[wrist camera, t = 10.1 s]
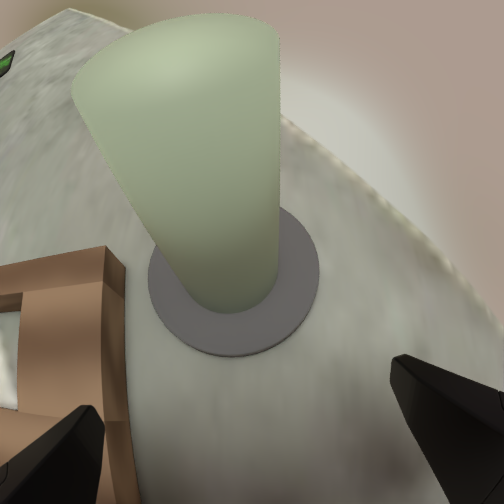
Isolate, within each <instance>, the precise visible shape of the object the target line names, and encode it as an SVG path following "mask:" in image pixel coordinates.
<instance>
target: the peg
mask: <svg viewBox="0 0 504 504" xmlns="http://www.w3.org/2000/svg"><path fill="white" fill-rule="evenodd" d="M71 96H72V98H73V101H74V103H75V105H76V107H77V108H78V110H79V112H80V114H81V116H82V118H83V120H84V122H85V124H86V126H87V128H88V130H89V131H90V133H91V135H92V137H93V139H94V141H95V143H96V144H97V146H98V148H99V150H100V152H101V153H102V155H103V157H104V159H105V161H106V162H107V164H108V166H109V168H110V169H111V171H112V173H113V175H114V176H115V178H116V180H117V182H118V183H119V185H120V187H121V188H122V190H123V192H124V193H125V195H126V197H127V198H128V200H129V202H130V203H131V205H132V207H133V208H134V210H135V212H136V213H137V215H138V217H139V218H140V220H141V221H142V223H143V225H144V226H145V228H146V229H147V231H148V233H149V234H150V236H151V237H152V239H153V241H154V242H155V244H156V245H157V247H158V248H159V250H160V251H161V253H162V254H163V256H164V258H165V259H166V261H167V262H168V264H169V265H170V267H171V268H172V270H173V271H174V273H175V274H176V276H177V277H178V279H179V280H180V282H181V283H182V285H183V286H184V287H185V289H186V290H187V292H188V293H189V295H190V296H191V297H192V298H193V300H194V301H195V302H197V303H198V304H199V305H200V306H202V307H203V308H205V309H208V310H210V311H213V312H217V313H222V314H233V313H239V312H243V311H246V310H249V309H251V308H253V307H254V306H256V305H258V304H259V303H260V302H261V301H263V300H264V299H265V298H266V297H267V295H268V294H269V293H270V291H271V290H272V288H273V286H274V284H275V282H276V279H277V274H278V252H279V207H280V38H279V35H278V33H277V32H276V31H275V29H274V28H273V27H271V26H270V25H269V24H267V23H265V22H263V21H261V20H258V19H255V18H251V17H248V16H243V15H237V14H224V13H208V14H196V15H188V16H182V17H177V18H173V19H168V20H165V21H161V22H158V23H155V24H152V25H149V26H146V27H143V28H141V29H138V30H136V31H134V32H131V33H129V34H127V35H125V36H123V37H121V38H119V39H118V40H116V41H114V42H112V43H111V44H109V45H108V46H106V47H105V48H103V49H102V50H100V51H99V52H98V53H97V54H95V55H94V56H93V57H92V58H91V59H90V60H89V61H88V62H87V63H85V65H84V66H83V67H82V68H81V69H80V70H79V72H78V73H77V75H76V76H75V78H74V80H73V83H72V86H71Z"/></svg>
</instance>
